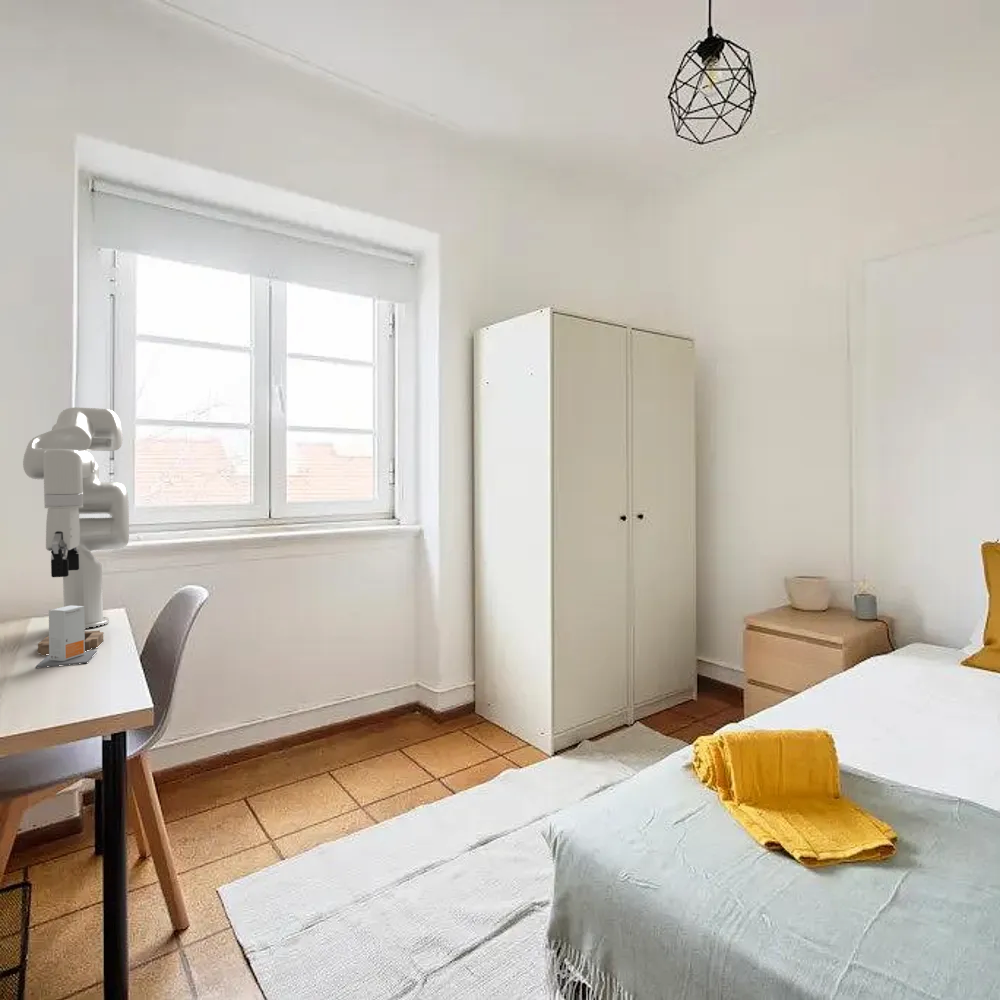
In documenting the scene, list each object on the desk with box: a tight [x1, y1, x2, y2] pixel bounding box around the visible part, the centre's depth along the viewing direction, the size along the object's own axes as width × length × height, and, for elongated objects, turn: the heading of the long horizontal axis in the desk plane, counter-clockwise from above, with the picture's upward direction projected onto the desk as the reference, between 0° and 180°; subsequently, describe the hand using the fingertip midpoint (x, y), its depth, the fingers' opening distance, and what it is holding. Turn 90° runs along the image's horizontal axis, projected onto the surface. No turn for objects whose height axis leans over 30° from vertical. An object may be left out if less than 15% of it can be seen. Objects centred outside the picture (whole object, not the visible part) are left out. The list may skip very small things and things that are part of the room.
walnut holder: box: [37, 630, 104, 656], centre depth 159 cm, size 12×12×2 cm
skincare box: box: [48, 605, 85, 661], centre depth 148 cm, size 6×4×12 cm
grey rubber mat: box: [35, 650, 98, 669], centre depth 147 cm, size 10×10×1 cm
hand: (65, 573), depth 147 cm, fingers open, 9 cm apart
